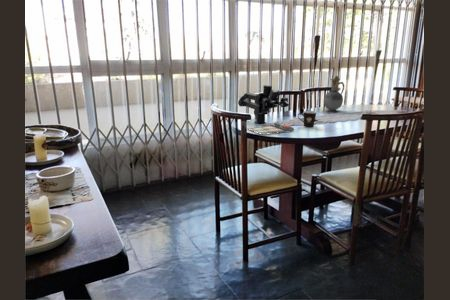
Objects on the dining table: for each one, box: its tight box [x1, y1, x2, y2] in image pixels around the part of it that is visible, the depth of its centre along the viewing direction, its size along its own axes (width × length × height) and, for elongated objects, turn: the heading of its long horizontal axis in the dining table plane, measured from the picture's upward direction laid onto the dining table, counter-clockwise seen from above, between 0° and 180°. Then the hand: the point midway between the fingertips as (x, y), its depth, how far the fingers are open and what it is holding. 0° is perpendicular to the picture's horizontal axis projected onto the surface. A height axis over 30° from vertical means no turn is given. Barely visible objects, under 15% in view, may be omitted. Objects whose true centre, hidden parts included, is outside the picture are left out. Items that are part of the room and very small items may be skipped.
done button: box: [283, 124, 291, 129], centre depth 212 cm, size 5×5×2 cm
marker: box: [273, 122, 284, 128], centre depth 221 cm, size 9×2×2 cm, turn 27°
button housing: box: [279, 127, 295, 132], centre depth 213 cm, size 6×6×2 cm
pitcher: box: [323, 75, 345, 113], centre depth 276 cm, size 11×19×30 cm, turn 119°
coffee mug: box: [297, 110, 317, 128], centre depth 224 cm, size 12×9×10 cm
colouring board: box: [247, 125, 285, 134], centre depth 211 cm, size 16×18×1 cm
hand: (283, 105), depth 208 cm, fingers open, 9 cm apart
